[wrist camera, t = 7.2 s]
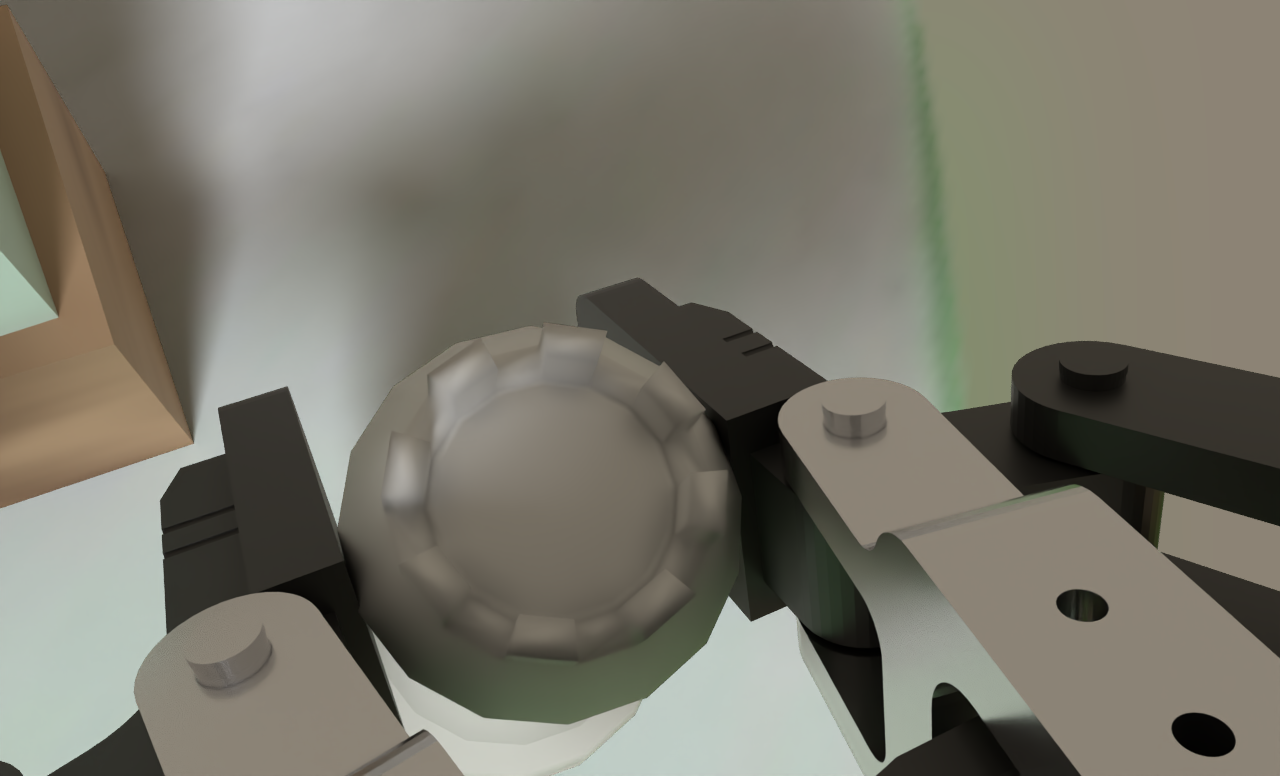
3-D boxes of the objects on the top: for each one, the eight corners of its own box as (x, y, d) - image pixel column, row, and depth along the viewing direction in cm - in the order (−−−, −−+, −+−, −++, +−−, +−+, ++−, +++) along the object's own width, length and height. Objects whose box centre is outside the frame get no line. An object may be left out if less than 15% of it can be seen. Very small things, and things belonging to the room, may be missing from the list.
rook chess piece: (405, 433, 16) (370, 135, 8) (686, 521, 16) (900, 312, 8) (290, 735, 14) (117, 707, 6) (607, 827, 14) (787, 899, 7)
